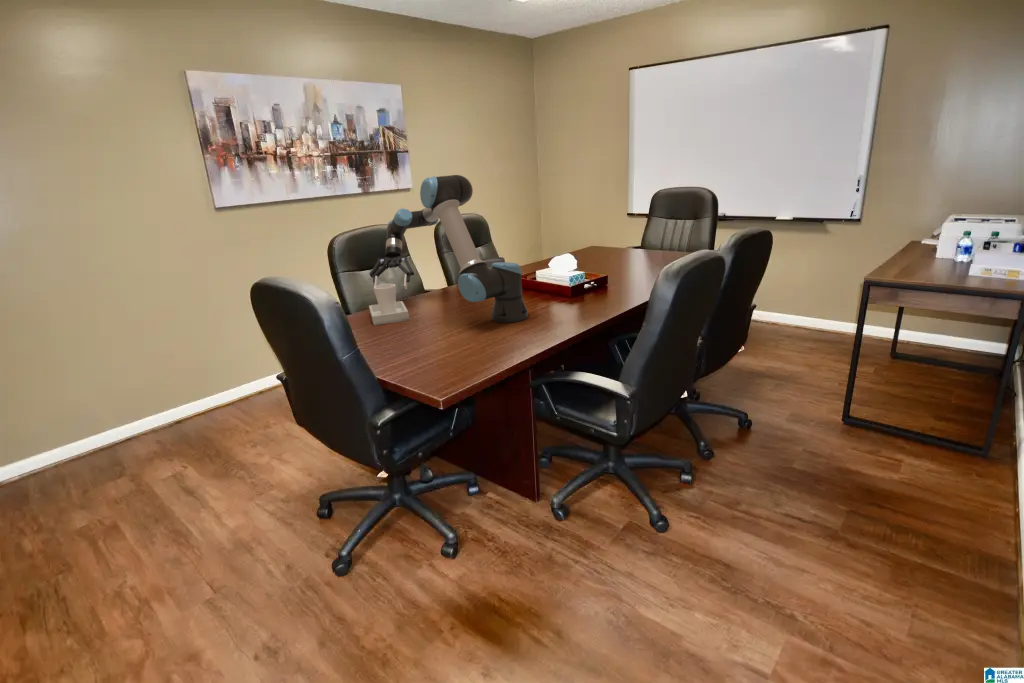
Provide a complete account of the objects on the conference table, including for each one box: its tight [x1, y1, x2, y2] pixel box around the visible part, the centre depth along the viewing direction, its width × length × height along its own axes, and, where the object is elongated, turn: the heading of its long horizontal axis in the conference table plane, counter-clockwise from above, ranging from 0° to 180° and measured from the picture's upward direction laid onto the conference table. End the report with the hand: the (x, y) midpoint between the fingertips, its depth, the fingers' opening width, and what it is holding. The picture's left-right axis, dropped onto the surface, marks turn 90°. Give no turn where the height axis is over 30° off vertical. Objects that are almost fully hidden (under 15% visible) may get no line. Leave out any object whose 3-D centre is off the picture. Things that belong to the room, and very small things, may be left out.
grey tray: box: [368, 300, 410, 326], centre depth 234 cm, size 20×15×4 cm
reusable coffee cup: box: [480, 256, 506, 268], centre depth 271 cm, size 13×13×15 cm
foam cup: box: [373, 283, 397, 315], centre depth 232 cm, size 10×9×13 cm
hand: (390, 288), depth 240 cm, fingers open, 13 cm apart
